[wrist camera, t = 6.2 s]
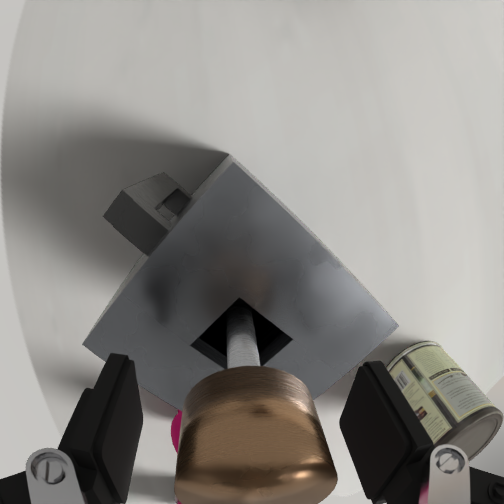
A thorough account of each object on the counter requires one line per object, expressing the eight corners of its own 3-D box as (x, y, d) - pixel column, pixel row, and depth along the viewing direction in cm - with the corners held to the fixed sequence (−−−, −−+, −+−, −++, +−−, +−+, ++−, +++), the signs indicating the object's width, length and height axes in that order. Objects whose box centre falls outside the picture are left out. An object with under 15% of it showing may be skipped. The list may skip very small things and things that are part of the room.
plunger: (237, 319, 24) (259, 546, 8) (164, 261, 22) (72, 481, 6) (304, 254, 23) (434, 455, 6) (231, 187, 21) (250, 336, 5)
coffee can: (435, 390, 37) (483, 456, 24) (373, 410, 37) (413, 490, 23) (452, 331, 34) (517, 398, 21) (383, 351, 33) (441, 437, 20)
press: (236, 308, 30) (248, 445, 15) (129, 220, 27) (35, 304, 12) (313, 232, 28) (398, 325, 13) (204, 131, 25) (172, 108, 10)
